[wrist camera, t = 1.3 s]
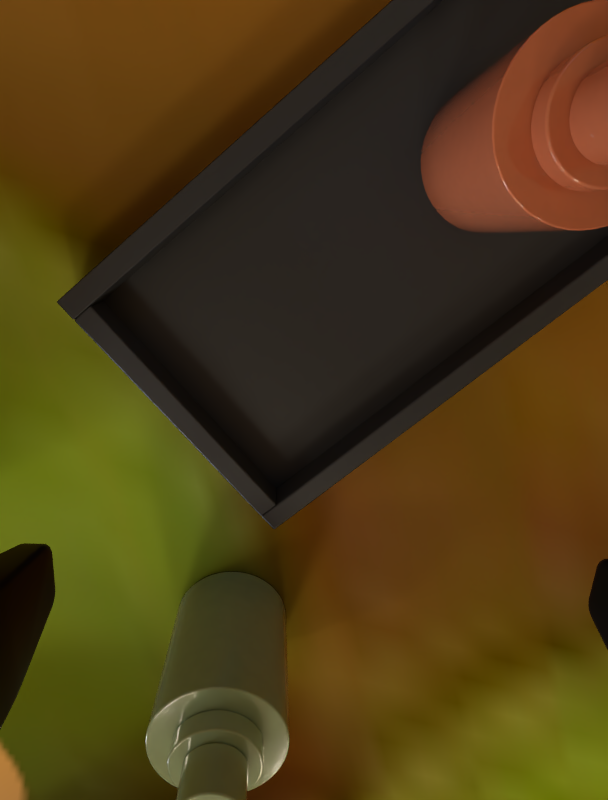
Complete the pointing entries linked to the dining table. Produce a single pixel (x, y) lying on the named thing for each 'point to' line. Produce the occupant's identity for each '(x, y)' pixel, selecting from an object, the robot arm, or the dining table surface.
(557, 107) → the terracotta bottle
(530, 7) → the tray
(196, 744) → the green bottle
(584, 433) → the dining table surface
